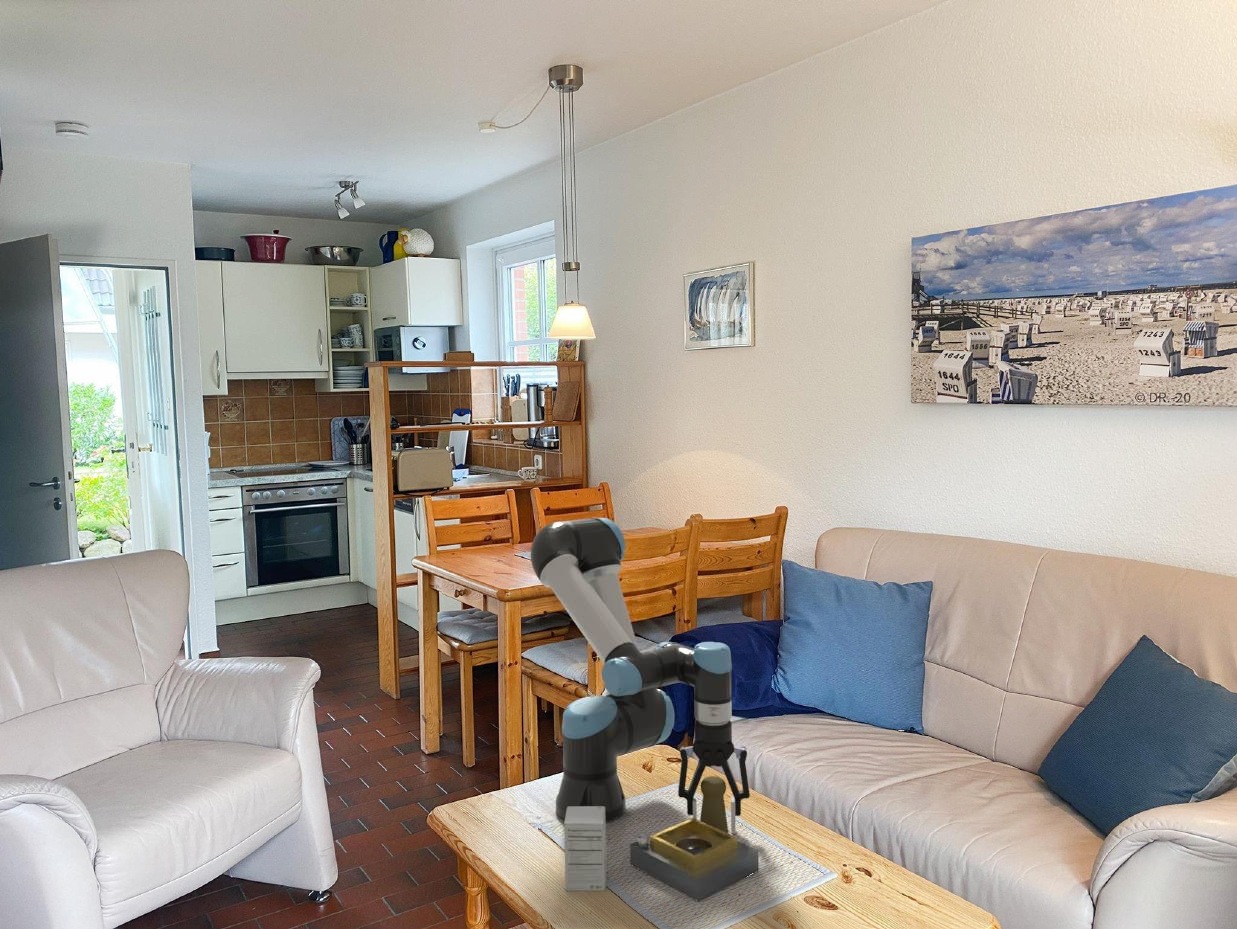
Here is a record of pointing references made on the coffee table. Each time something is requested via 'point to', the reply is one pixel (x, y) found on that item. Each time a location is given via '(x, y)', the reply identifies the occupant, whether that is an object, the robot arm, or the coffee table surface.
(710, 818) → the olive brown pawn
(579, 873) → the supplement box
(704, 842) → the grey base with frame
